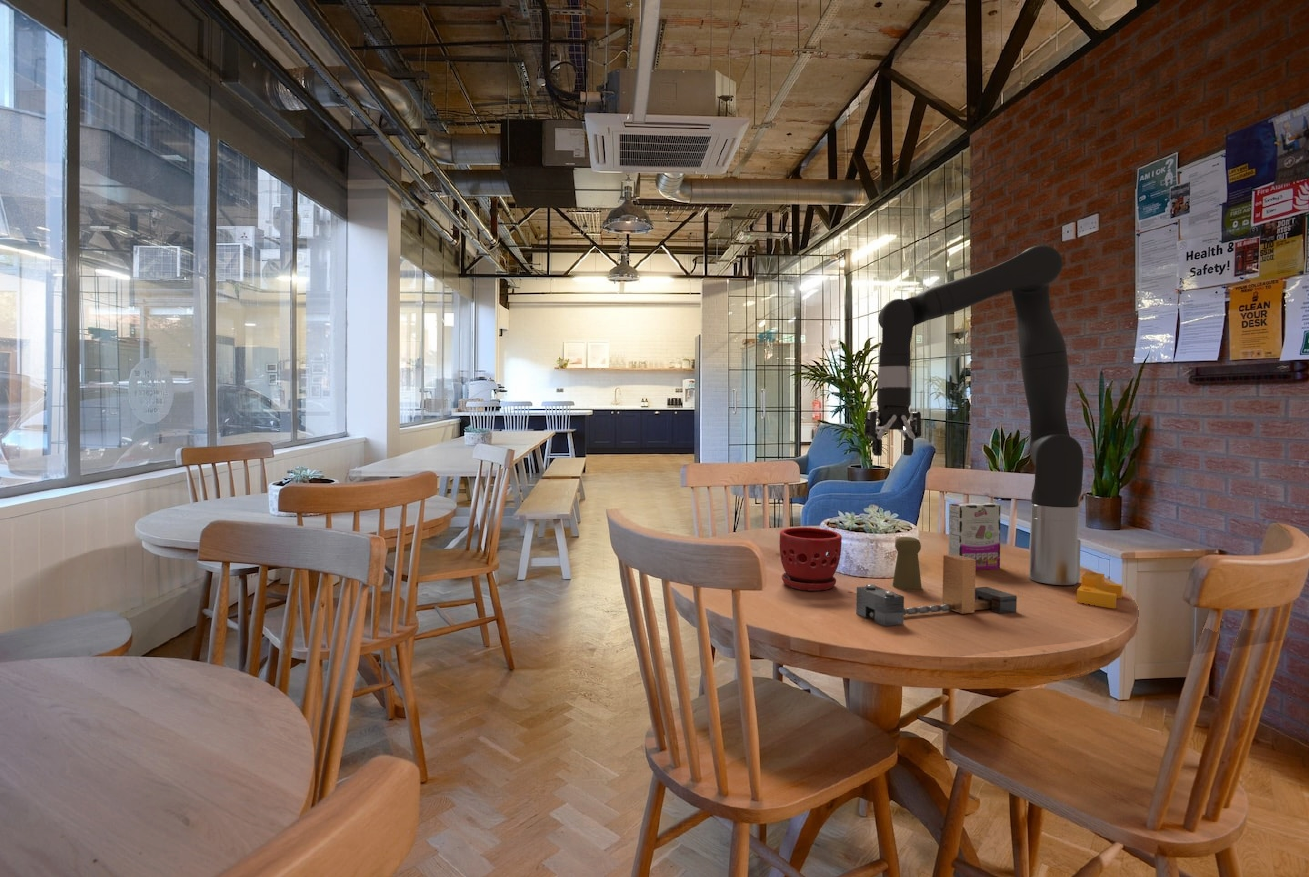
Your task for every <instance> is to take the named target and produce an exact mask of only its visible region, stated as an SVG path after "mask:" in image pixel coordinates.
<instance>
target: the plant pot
mask: <svg viewBox="0 0 1309 877" xmlns="http://www.w3.org/2000/svg"><path fill="white" fill-rule="evenodd" d="M779 554H780V562H781V566H782V568H783V570H784V573H783V574H782V575H781V580H782V582H783V583H784V584H785V585H787V586H788V587H790V588H793V589H796V590H800V591H806V590H808V591H809V592H817V591H819V592H820V591H821V590H822V591H827V590H830V589H832V588H833V587H834V586H835V585H836V583H837V578H836V577H835V576H834V575H835V574H836V572H837V569H838V567H839V563H840V559H841V554H842V534H840V532H837V531H834V530H829V529H826V528H817V527H805V526H804V527H789V528H785V529H782V530H780V532H779Z"/></svg>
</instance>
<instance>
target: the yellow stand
mask: <svg viewBox="0 0 1309 877" xmlns="http://www.w3.org/2000/svg"><path fill="white" fill-rule="evenodd" d="M1122 597H1123V584H1119V583H1113V582H1105V573H1101V572H1092V571H1086V572H1085V573H1084V574H1082V576H1081V584H1080V586H1079V587H1078V588H1077V590H1076V603H1077V602H1079V603H1078V604H1082V603H1084V604H1083V605H1088V604H1090V606H1094V605H1095V606H1096V607H1101V608H1107V609H1116V608H1117V599H1122ZM1095 606H1094V607H1095Z"/></svg>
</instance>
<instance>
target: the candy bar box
mask: <svg viewBox="0 0 1309 877" xmlns="http://www.w3.org/2000/svg"><path fill="white" fill-rule="evenodd" d="M948 555H960V556H964V557H968V558H971V559H975V560H976V570H977V571H978V570H993V569H997V570H998V569H1000V568H1001V504H999V503H998V504H997V503H995V502H994V503H993V502H966V503H965V502H964V503H962V502H961V503H949V504H948ZM976 570H975V571H976Z"/></svg>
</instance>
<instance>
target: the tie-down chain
mask: <svg viewBox="0 0 1309 877" xmlns="http://www.w3.org/2000/svg"><path fill="white" fill-rule="evenodd" d="M942 556H943V557H942V558H943V560H942V562H943V563H942V564H943V566H942V569H943V570H942V600H941V601H942V602H941V605H939V604H935V605H930V606H928V605H925V606H917V607H915V606H913V607H907V608H904V616H905V615H916V614H926V613H939V612H949V611H952V612H953V611H954V612H956V613H959V614H962V615H963V614H972V613H975V611H979V610H988V609H990V610H991V609H992V600H991V599H988V598H987V599H977V600H975V588H976V560H975V559H971V558H968V557H964V556H960V555H949V554H946V555H942ZM870 618H872V619H875V611H872V612H870Z"/></svg>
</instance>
